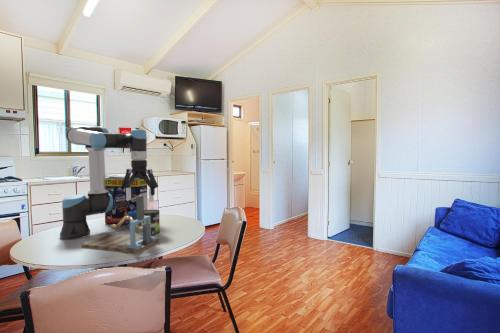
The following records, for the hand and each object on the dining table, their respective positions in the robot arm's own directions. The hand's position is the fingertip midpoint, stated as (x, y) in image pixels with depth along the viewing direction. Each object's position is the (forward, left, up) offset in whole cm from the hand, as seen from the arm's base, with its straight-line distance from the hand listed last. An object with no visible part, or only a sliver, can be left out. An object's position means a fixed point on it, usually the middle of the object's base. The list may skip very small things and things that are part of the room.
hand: (139, 200), depth 146 cm
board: (-12, 0, -24) cm, 27 cm away
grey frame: (0, 0, -22) cm, 22 cm away
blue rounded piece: (-25, +28, -24) cm, 45 cm away
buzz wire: (-7, 0, -22) cm, 23 cm away
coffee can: (-7, +19, -24) cm, 32 cm away
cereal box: (-40, +39, -24) cm, 61 cm away
